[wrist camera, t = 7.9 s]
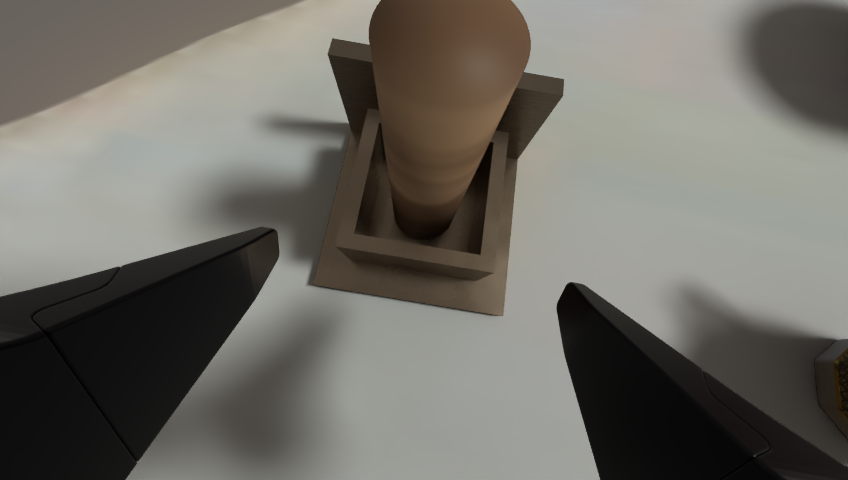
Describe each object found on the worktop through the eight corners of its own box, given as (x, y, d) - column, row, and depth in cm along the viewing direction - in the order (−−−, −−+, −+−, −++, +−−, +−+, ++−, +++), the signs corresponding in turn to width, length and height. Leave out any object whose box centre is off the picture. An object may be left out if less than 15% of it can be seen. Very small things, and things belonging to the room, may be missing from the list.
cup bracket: (500, 315, 19) (550, 317, 12) (315, 285, 19) (264, 270, 12) (515, 151, 22) (563, 79, 15) (355, 123, 22) (332, 38, 15)
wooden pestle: (449, 244, 19) (524, 118, 7) (388, 234, 19) (352, 89, 7) (456, 188, 20) (535, -12, 8) (399, 178, 20) (385, -38, 8)
